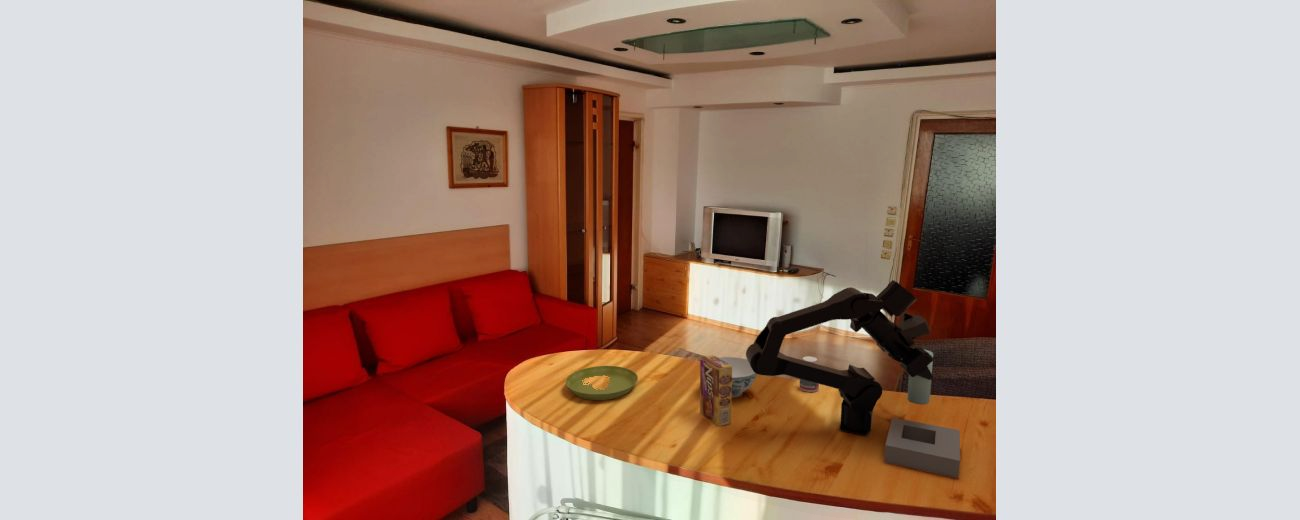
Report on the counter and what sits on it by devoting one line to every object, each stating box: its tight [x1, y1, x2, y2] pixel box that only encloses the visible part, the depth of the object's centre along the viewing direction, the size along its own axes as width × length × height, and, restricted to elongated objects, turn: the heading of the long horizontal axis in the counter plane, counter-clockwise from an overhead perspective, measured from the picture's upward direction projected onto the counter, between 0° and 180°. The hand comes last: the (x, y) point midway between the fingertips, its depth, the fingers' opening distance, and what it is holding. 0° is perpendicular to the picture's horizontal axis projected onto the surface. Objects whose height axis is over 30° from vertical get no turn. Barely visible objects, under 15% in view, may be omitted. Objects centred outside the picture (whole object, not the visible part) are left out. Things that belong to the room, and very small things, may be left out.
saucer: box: [565, 365, 639, 401], centre depth 161 cm, size 21×21×3 cm
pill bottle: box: [798, 355, 820, 393], centre depth 158 cm, size 5×5×9 cm
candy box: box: [699, 354, 733, 427], centre depth 141 cm, size 9×4×15 cm, turn 26°
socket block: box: [883, 417, 961, 479], centre depth 123 cm, size 14×14×4 cm
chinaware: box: [717, 356, 758, 399], centre depth 156 cm, size 15×15×8 cm
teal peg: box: [907, 349, 934, 406], centre depth 133 cm, size 5×5×12 cm
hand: (926, 374), depth 133 cm, fingers closed on teal peg, 5 cm apart
